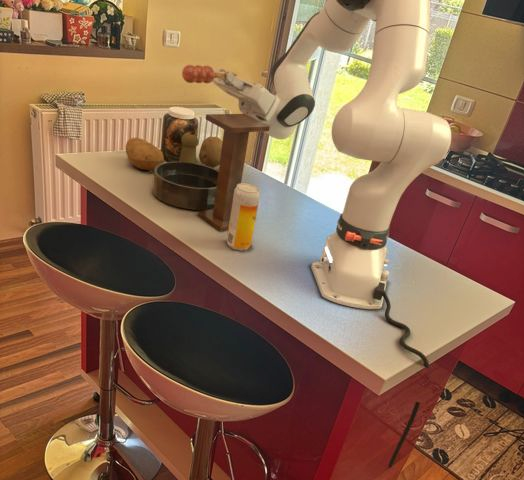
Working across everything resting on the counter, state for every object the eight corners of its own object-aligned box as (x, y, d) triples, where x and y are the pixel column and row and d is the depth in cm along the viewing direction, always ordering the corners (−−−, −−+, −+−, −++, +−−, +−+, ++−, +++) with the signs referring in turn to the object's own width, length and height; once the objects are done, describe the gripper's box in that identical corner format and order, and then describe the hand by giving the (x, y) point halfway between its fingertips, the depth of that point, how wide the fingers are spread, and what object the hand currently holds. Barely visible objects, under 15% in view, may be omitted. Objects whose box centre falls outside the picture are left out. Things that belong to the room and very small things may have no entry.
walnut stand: (229, 210, 153) (244, 113, 137) (252, 225, 147) (270, 126, 132) (194, 216, 145) (205, 114, 130) (216, 231, 140) (231, 127, 125)
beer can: (255, 248, 136) (266, 190, 127) (238, 253, 132) (248, 194, 123) (238, 238, 139) (247, 181, 130) (221, 243, 135) (229, 184, 126)
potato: (145, 179, 160) (147, 151, 156) (117, 162, 167) (117, 136, 162) (171, 174, 167) (173, 148, 162) (143, 159, 173) (144, 133, 169)
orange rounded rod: (228, 81, 144) (231, 64, 141) (238, 85, 142) (240, 69, 139) (178, 80, 134) (179, 62, 132) (187, 84, 132) (189, 66, 130)
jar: (153, 153, 180) (155, 105, 171) (182, 151, 187) (186, 104, 178) (172, 165, 173) (176, 116, 165) (202, 163, 180) (207, 116, 172)
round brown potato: (230, 169, 180) (235, 138, 175) (217, 175, 174) (221, 143, 168) (207, 161, 183) (210, 130, 177) (193, 167, 176) (196, 135, 170)
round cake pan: (218, 217, 147) (221, 194, 144) (145, 202, 147) (146, 178, 143) (228, 191, 164) (231, 170, 160) (162, 178, 163) (163, 156, 159)
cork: (195, 175, 170) (199, 139, 164) (175, 171, 169) (179, 135, 163) (197, 169, 175) (201, 134, 168) (178, 165, 174) (182, 130, 168)
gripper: (237, 80, 155) (206, 51, 144) (284, 101, 144) (254, 72, 133) (226, 101, 157) (194, 73, 145) (272, 123, 145) (241, 95, 134)
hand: (223, 73), depth 139 cm, fingers closed on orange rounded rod, 2 cm apart
